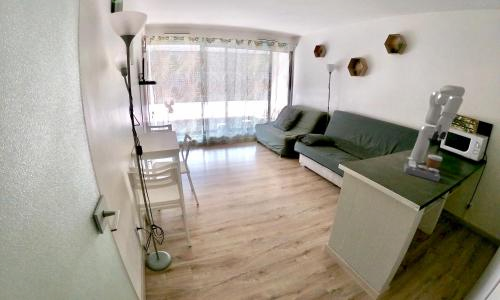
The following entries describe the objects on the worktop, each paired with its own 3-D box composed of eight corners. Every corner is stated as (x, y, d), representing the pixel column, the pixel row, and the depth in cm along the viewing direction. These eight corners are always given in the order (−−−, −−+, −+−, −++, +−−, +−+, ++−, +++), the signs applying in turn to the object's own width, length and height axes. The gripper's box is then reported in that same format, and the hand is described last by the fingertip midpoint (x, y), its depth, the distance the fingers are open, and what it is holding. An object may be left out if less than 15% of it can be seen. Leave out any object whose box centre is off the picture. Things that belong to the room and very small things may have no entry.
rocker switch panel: (402, 165, 188) (404, 160, 186) (433, 173, 179) (435, 168, 177) (404, 172, 172) (406, 167, 171) (438, 181, 164) (440, 176, 162)
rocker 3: (428, 169, 174) (429, 167, 174) (435, 170, 172) (435, 169, 172) (431, 170, 166) (432, 168, 166) (438, 172, 164) (439, 170, 164)
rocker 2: (418, 166, 177) (418, 164, 176) (424, 167, 175) (425, 166, 175) (420, 167, 169) (421, 166, 168) (427, 169, 167) (428, 167, 167)
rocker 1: (408, 161, 179) (409, 160, 178) (414, 163, 177) (415, 161, 177) (408, 167, 172) (409, 165, 172) (415, 168, 171) (416, 167, 170)
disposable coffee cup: (431, 172, 180) (437, 158, 175) (419, 167, 188) (425, 153, 184) (439, 172, 182) (446, 158, 178) (428, 167, 191) (434, 154, 187)
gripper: (448, 113, 160) (438, 137, 166) (435, 113, 152) (425, 138, 158) (461, 116, 154) (450, 140, 160) (448, 116, 146) (437, 141, 152)
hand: (437, 139), depth 159 cm, fingers open, 9 cm apart
